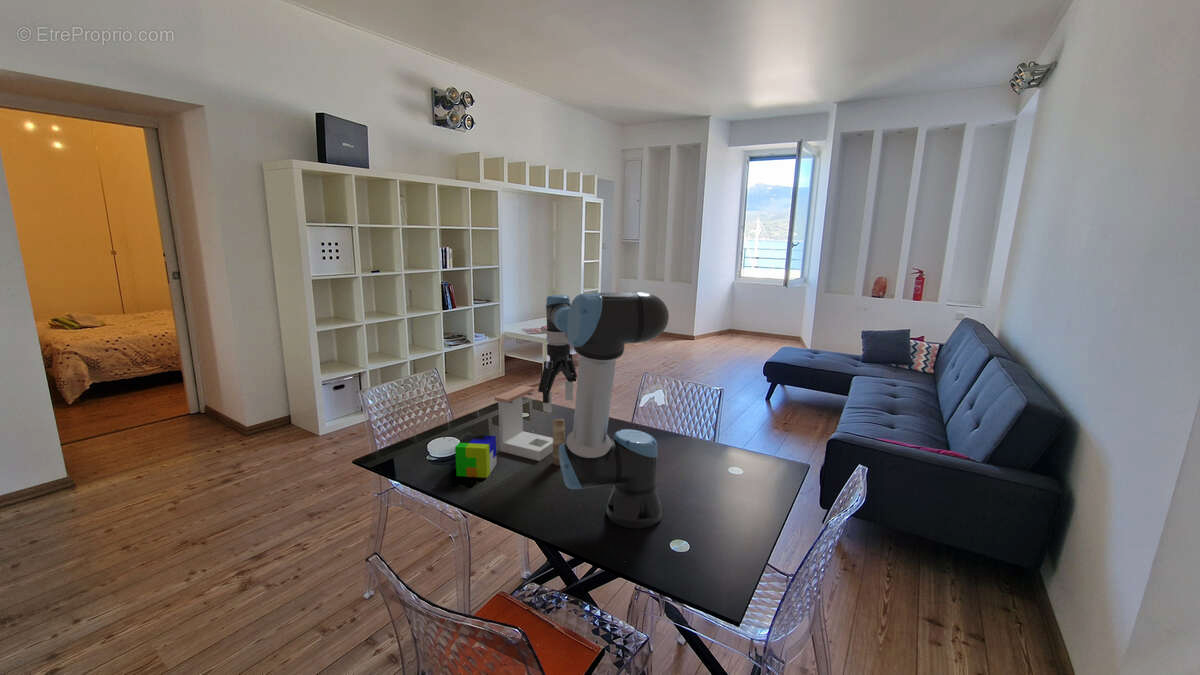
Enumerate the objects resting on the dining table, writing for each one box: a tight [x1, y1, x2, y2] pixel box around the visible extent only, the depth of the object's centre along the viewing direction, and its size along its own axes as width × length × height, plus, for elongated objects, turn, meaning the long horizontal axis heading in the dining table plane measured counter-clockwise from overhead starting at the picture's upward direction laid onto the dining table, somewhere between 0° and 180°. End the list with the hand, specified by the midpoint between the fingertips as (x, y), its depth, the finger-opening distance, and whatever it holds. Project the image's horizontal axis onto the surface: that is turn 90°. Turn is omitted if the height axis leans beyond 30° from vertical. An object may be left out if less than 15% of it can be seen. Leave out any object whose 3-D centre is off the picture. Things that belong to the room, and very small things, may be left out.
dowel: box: [552, 418, 566, 466], centre depth 165 cm, size 4×4×15 cm
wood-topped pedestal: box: [494, 385, 535, 443], centre depth 177 cm, size 16×6×17 cm, turn 153°
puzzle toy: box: [454, 434, 497, 479], centre depth 160 cm, size 10×10×10 cm
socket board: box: [499, 430, 553, 462], centre depth 176 cm, size 12×17×4 cm
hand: (558, 405), depth 163 cm, fingers open, 13 cm apart
